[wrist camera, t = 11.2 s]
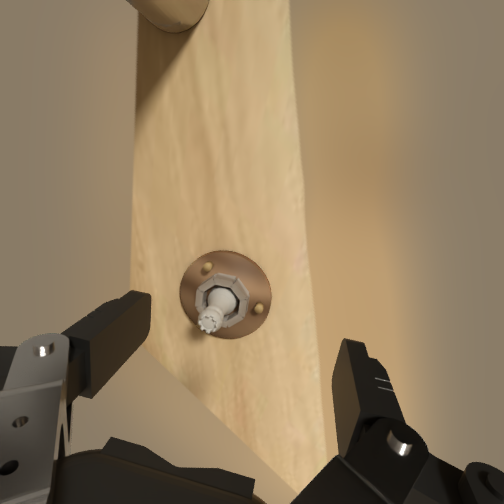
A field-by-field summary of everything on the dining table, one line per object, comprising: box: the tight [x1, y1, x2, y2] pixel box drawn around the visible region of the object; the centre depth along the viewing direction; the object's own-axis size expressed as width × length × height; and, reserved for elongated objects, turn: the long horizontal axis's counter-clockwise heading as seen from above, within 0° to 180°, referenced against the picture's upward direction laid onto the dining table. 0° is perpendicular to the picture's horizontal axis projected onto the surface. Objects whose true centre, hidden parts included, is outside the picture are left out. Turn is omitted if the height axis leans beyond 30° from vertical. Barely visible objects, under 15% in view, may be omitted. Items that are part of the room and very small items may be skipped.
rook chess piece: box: [198, 285, 238, 334], centre depth 41 cm, size 4×4×8 cm
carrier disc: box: [180, 251, 272, 338], centre depth 44 cm, size 14×14×3 cm
